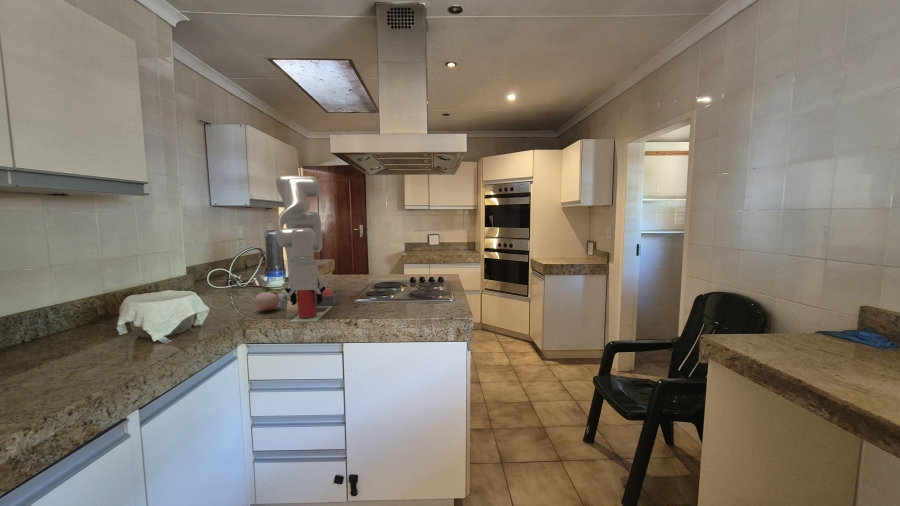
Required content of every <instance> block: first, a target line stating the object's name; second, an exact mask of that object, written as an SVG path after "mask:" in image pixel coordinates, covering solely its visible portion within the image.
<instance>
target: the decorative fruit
mask: <svg viewBox="0 0 900 506" xmlns="http://www.w3.org/2000/svg"><path fill="white" fill-rule="evenodd" d="M265 289H266V290H259V291H257V292H256V293H255V299H254V300H255V304H256V306H257V308H258V309H259V310H262V311H265V312H270V311H272V310H273V309H275V308H276V307H277V306H279V303H280V299H281V298H280V295H279V294H280V293H279V292H278V291H276V290H272V289H270V290H268V287H267V288H265Z"/></svg>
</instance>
